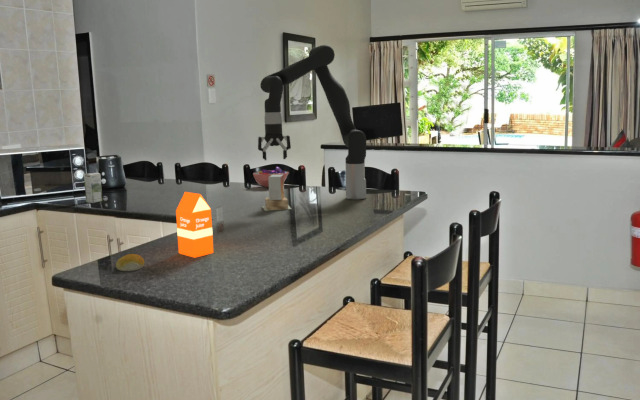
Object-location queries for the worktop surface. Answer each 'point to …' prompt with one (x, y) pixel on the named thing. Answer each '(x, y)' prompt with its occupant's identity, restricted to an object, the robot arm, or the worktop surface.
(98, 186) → the syrup box
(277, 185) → the small box
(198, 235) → the orange juice
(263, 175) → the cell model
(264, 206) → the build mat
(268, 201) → the oak block
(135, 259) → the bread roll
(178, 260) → the worktop surface
